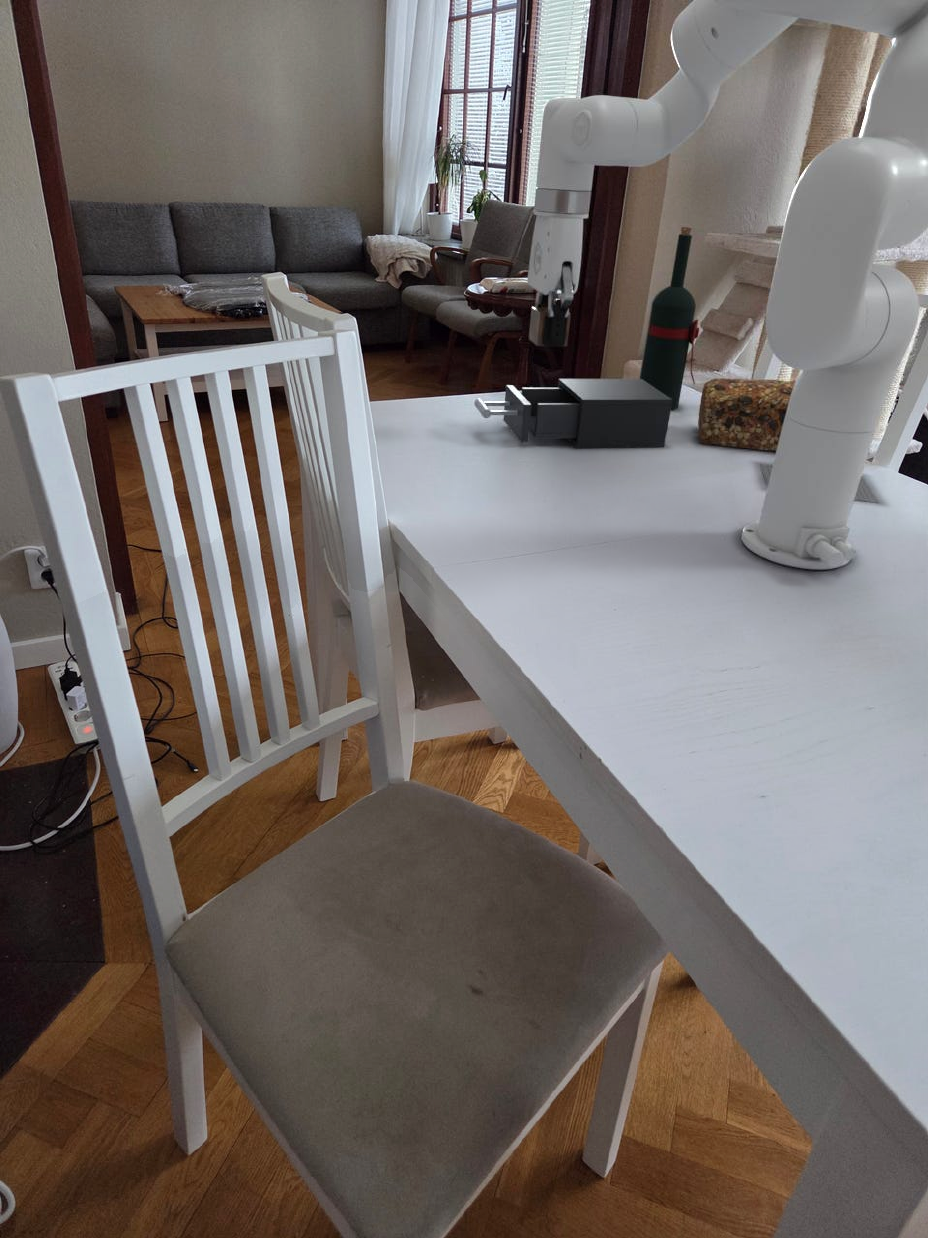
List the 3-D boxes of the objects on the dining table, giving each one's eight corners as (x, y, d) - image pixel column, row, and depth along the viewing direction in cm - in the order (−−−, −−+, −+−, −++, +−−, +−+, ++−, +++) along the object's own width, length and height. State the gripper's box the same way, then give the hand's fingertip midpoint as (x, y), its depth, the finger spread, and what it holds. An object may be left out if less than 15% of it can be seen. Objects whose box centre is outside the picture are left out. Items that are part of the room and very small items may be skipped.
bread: (807, 438, 139) (823, 379, 134) (816, 458, 130) (834, 395, 125) (694, 426, 142) (706, 367, 137) (695, 444, 133) (708, 382, 128)
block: (567, 346, 121) (570, 313, 118) (537, 345, 120) (540, 312, 118) (557, 339, 125) (561, 307, 122) (528, 339, 124) (531, 306, 121)
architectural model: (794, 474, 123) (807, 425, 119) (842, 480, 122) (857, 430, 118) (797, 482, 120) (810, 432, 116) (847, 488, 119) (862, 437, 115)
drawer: (484, 442, 125) (487, 404, 123) (469, 420, 135) (471, 384, 132) (603, 441, 129) (608, 404, 126) (580, 419, 139) (585, 385, 136)
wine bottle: (688, 414, 148) (723, 231, 133) (632, 407, 151) (660, 226, 136) (692, 404, 155) (726, 228, 140) (638, 397, 157) (665, 223, 142)
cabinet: (576, 448, 128) (582, 399, 124) (553, 424, 139) (558, 378, 135) (664, 447, 131) (672, 399, 127) (634, 423, 142) (642, 378, 138)
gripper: (519, 198, 119) (509, 329, 129) (554, 208, 105) (540, 354, 114) (568, 200, 121) (555, 330, 130) (609, 210, 107) (591, 354, 116)
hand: (548, 340), depth 122 cm, fingers closed on block, 4 cm apart
